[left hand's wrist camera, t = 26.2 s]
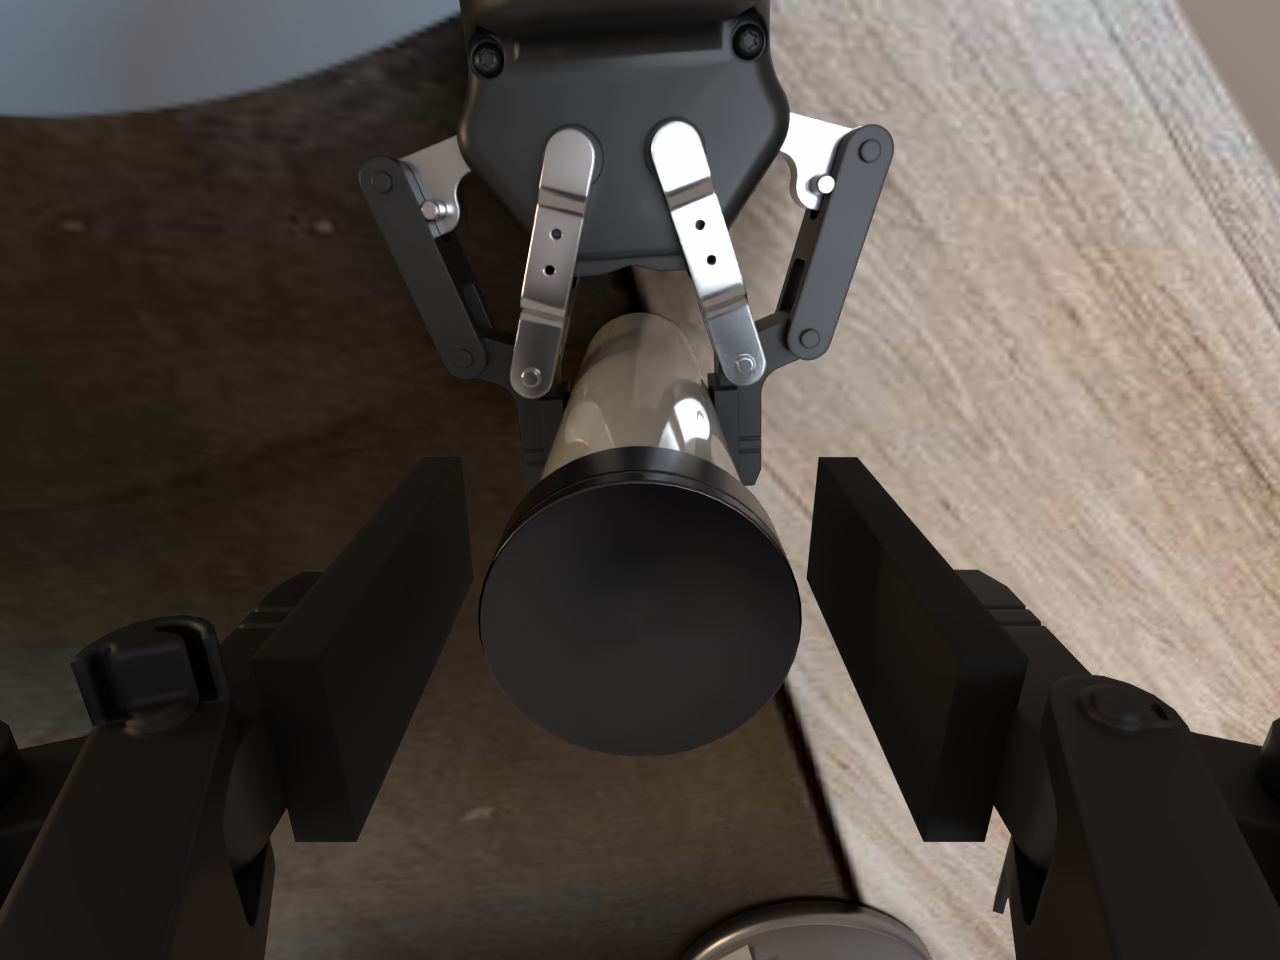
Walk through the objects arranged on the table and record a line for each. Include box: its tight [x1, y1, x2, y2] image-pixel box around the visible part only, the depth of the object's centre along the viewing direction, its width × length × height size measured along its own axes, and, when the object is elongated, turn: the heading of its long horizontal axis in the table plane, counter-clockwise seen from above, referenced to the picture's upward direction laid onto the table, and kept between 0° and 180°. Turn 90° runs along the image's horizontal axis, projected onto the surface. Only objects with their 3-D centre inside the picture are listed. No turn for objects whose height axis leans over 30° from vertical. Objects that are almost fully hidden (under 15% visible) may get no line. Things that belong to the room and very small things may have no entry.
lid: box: [478, 446, 802, 756], centre depth 11 cm, size 5×5×2 cm
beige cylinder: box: [538, 313, 741, 483], centre depth 19 cm, size 4×4×17 cm
